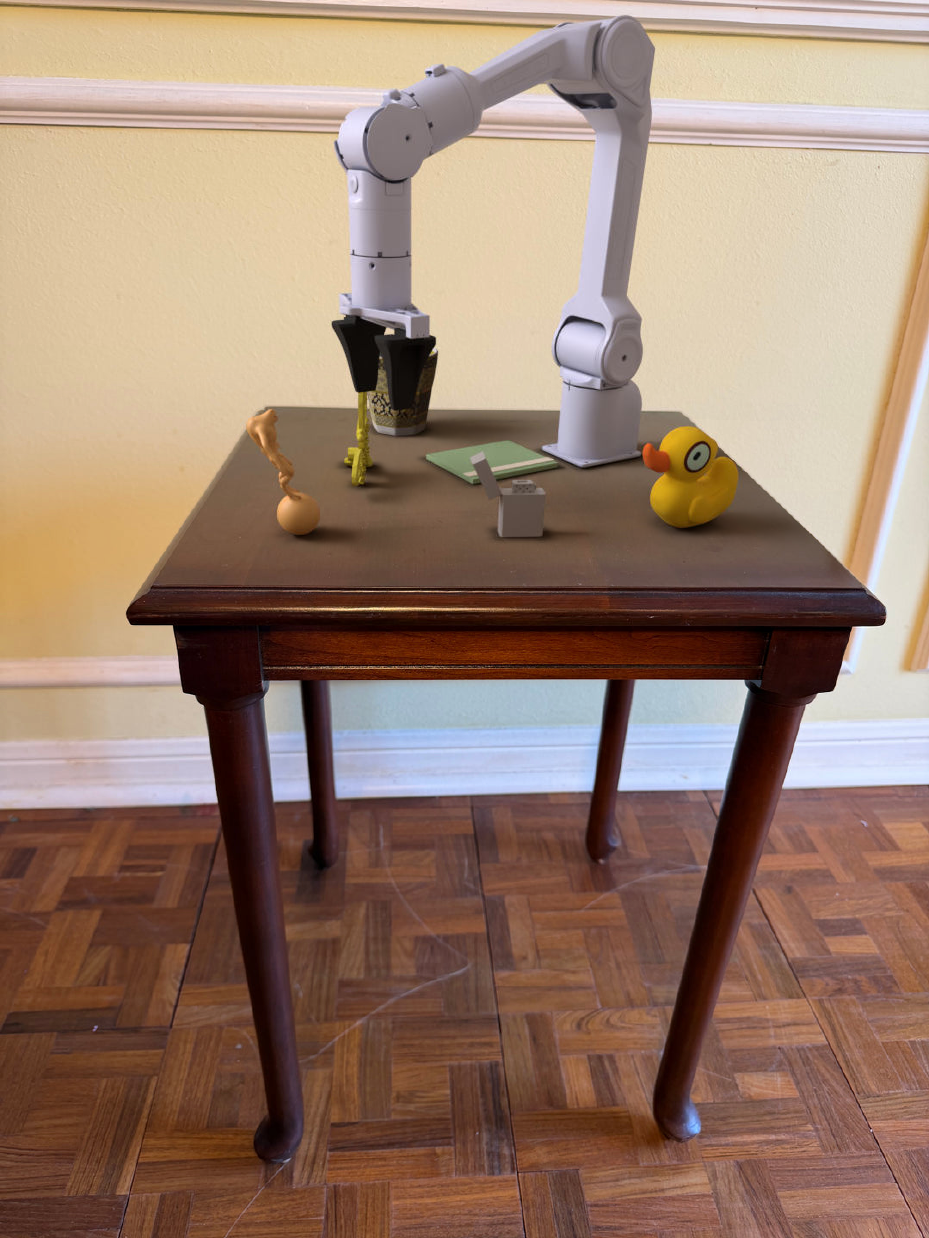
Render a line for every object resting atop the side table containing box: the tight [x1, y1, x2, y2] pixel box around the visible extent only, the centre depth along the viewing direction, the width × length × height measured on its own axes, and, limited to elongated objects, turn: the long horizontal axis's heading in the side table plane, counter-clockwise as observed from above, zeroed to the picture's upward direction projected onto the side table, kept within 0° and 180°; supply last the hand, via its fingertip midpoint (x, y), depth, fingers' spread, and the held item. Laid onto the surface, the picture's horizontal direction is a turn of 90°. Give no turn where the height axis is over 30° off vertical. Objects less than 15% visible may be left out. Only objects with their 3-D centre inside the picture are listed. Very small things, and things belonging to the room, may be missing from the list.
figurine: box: [245, 408, 321, 536], centre depth 80 cm, size 8×6×12 cm
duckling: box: [642, 425, 739, 529], centre depth 86 cm, size 11×5×10 cm, turn 115°
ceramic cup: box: [367, 347, 439, 437], centre depth 111 cm, size 13×10×10 cm
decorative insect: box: [343, 392, 374, 487], centre depth 97 cm, size 13×3×10 cm
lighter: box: [470, 452, 546, 538], centre depth 83 cm, size 7×2×8 cm, turn 97°
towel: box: [425, 439, 559, 485], centre depth 103 cm, size 12×10×1 cm
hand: (383, 399), depth 88 cm, fingers open, 7 cm apart
